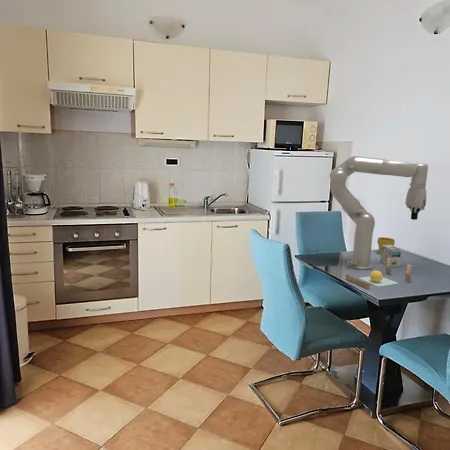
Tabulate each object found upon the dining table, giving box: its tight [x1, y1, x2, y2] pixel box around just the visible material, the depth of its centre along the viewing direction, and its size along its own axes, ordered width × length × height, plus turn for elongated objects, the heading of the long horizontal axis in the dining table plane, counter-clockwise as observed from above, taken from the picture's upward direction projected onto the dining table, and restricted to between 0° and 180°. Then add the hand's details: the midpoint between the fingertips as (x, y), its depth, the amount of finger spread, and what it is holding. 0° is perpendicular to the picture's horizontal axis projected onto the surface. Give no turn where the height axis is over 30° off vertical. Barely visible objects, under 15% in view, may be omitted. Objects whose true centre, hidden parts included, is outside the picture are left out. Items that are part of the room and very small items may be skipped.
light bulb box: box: [379, 245, 403, 268], centre depth 245 cm, size 11×7×11 cm, turn 13°
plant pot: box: [377, 236, 396, 255], centre depth 270 cm, size 10×10×10 cm
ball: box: [369, 270, 383, 282], centre depth 211 cm, size 6×6×6 cm
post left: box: [384, 258, 392, 276], centre depth 225 cm, size 3×3×9 cm
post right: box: [404, 263, 413, 284], centre depth 213 cm, size 3×3×9 cm
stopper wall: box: [345, 274, 371, 290], centre depth 207 cm, size 1×16×2 cm, turn 26°
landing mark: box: [358, 275, 399, 288], centre depth 214 cm, size 14×14×1 cm
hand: (413, 219), depth 230 cm, fingers closed
